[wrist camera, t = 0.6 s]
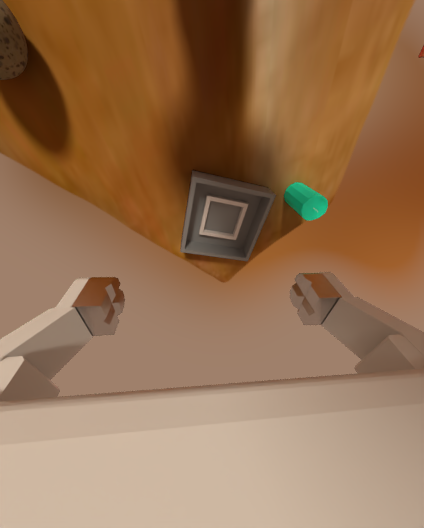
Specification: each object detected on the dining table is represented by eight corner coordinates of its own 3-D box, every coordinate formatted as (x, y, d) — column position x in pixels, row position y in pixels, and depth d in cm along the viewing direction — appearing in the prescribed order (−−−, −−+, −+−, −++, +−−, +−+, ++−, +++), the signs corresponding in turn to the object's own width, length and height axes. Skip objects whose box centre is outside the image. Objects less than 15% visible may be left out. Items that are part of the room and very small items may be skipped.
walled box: (192, 170, 46) (192, 176, 41) (268, 187, 50) (276, 195, 45) (181, 240, 57) (180, 251, 53) (243, 250, 62) (247, 261, 57)
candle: (310, 186, 51) (337, 203, 41) (297, 207, 54) (319, 226, 45) (292, 178, 49) (316, 194, 40) (279, 200, 52) (298, 219, 43)
